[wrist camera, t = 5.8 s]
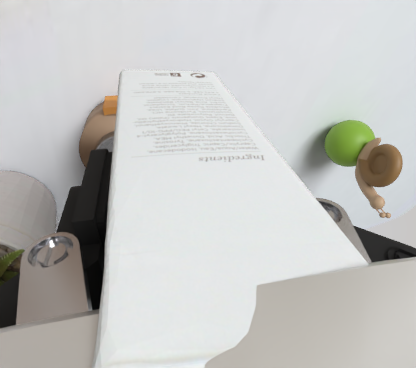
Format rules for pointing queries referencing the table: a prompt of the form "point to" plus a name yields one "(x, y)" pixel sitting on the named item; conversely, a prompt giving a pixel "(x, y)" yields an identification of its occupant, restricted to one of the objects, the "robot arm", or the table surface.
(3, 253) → the potted plant
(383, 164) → the snail figurine
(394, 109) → the table surface
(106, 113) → the crank pedestal
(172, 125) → the skincare box
